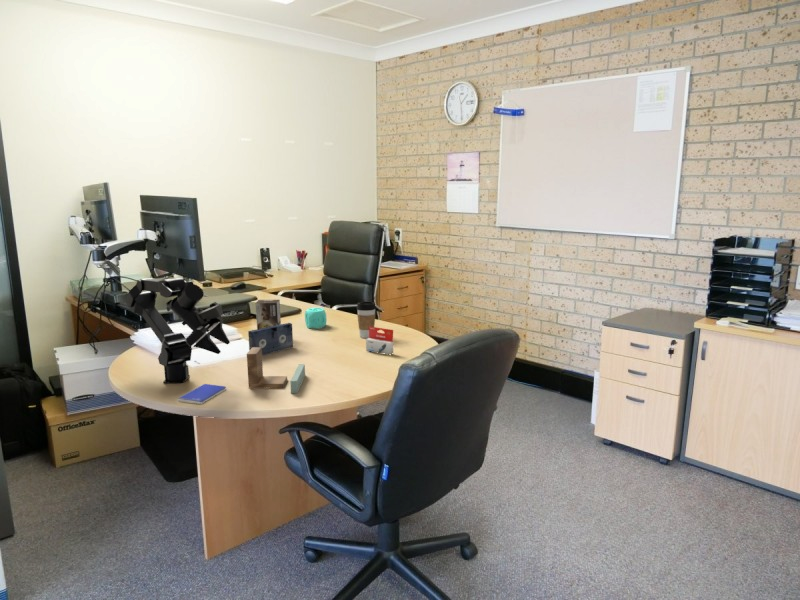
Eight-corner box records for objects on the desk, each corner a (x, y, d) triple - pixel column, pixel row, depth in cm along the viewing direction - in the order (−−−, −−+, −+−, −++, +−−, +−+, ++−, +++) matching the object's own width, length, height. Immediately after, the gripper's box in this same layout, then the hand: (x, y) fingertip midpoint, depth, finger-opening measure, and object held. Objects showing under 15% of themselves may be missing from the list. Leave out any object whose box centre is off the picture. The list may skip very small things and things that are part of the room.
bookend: (248, 388, 172) (246, 353, 170) (254, 380, 179) (252, 347, 177) (283, 388, 172) (281, 353, 170) (287, 380, 179) (285, 347, 177)
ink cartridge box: (390, 356, 205) (390, 331, 203) (365, 351, 210) (365, 327, 208) (393, 354, 207) (393, 329, 205) (369, 350, 212) (368, 326, 210)
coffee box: (281, 335, 232) (280, 299, 228) (279, 340, 225) (277, 302, 222) (260, 336, 231) (258, 299, 228) (257, 340, 225) (255, 302, 222)
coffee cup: (353, 337, 229) (352, 303, 226) (361, 332, 236) (361, 299, 233) (371, 340, 226) (371, 305, 223) (379, 334, 233) (379, 301, 230)
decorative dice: (305, 325, 249) (304, 308, 247) (321, 323, 252) (321, 306, 251) (309, 329, 242) (309, 312, 240) (326, 327, 245) (326, 310, 244)
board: (290, 393, 168) (290, 381, 167) (299, 375, 184) (298, 364, 183) (297, 393, 168) (296, 381, 167) (305, 375, 184) (304, 364, 183)
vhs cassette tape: (290, 346, 217) (289, 322, 215) (294, 347, 215) (293, 323, 213) (248, 356, 205) (247, 330, 202) (252, 357, 203) (251, 332, 200)
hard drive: (201, 400, 159) (225, 386, 171) (177, 397, 162) (203, 383, 173) (201, 405, 160) (226, 390, 171) (178, 402, 162) (204, 388, 174)
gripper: (194, 303, 159) (232, 341, 162) (215, 289, 177) (249, 323, 180) (169, 328, 161) (207, 364, 164) (192, 311, 179) (226, 344, 182)
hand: (224, 348), depth 172 cm, fingers open, 9 cm apart
